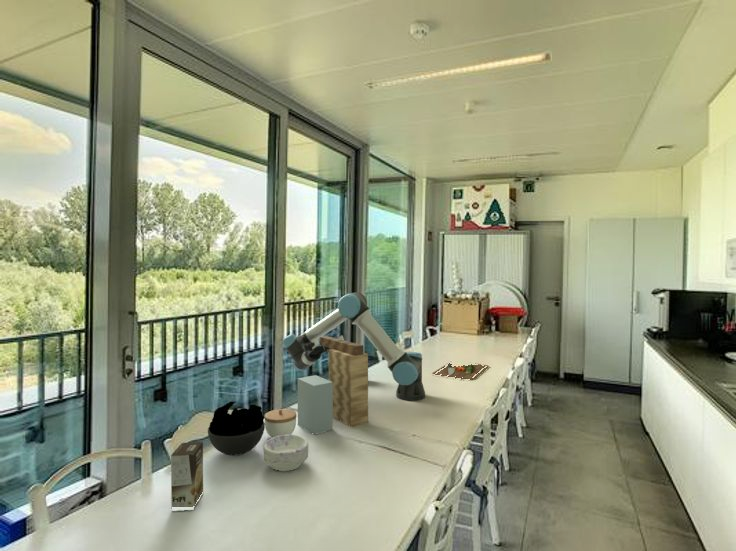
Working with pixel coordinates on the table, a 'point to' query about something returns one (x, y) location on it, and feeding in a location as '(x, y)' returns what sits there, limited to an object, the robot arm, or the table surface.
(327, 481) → the table surface
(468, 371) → the chopping board
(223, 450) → the coal bowl
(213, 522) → the table surface
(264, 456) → the paper bowls
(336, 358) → the tall stand
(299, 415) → the base block
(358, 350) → the walnut block
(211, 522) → the table surface
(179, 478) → the coffee box
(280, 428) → the lidded bowl
